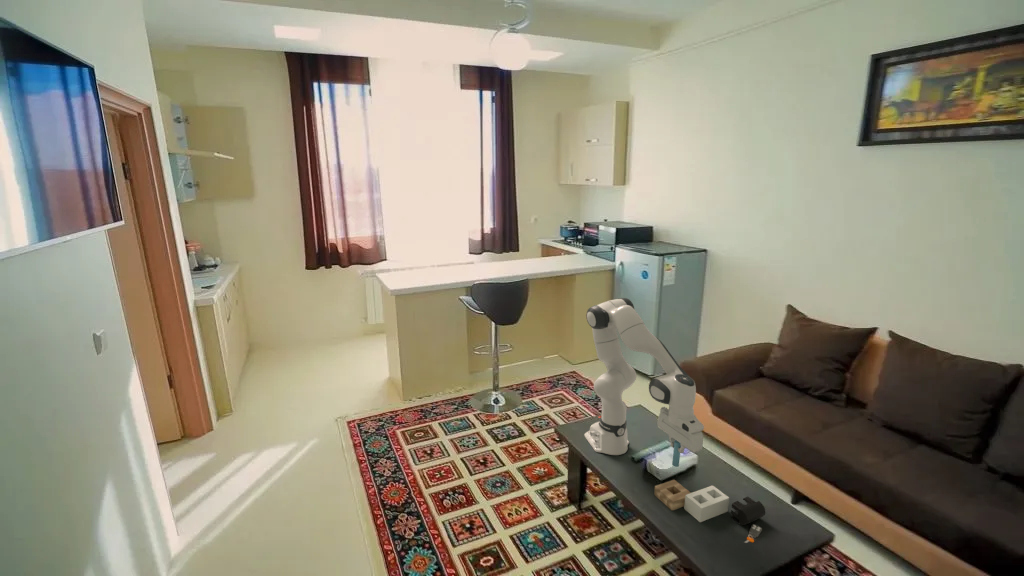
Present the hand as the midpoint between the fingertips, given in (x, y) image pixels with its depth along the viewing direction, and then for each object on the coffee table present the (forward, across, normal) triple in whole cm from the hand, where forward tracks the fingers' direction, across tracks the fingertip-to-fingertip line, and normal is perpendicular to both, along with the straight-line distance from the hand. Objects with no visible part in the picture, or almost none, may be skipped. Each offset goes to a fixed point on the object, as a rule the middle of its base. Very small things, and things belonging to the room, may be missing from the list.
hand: (677, 449), depth 177 cm
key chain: (+22, +27, +11) cm, 37 cm away
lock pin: (+7, 0, 0) cm, 7 cm away
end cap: (+22, +20, +17) cm, 35 cm away
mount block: (+22, 0, 0) cm, 22 cm away
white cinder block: (+22, +10, +7) cm, 25 cm away
